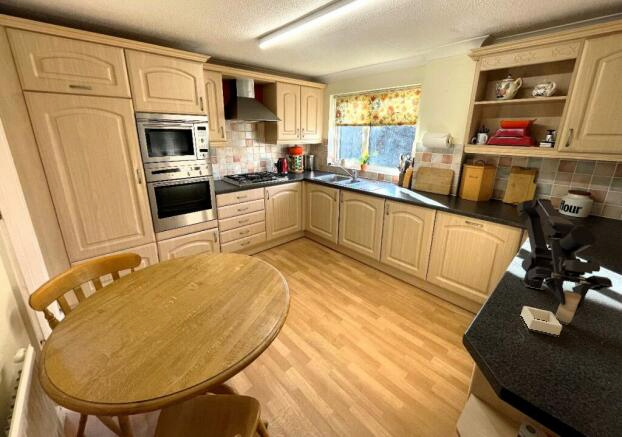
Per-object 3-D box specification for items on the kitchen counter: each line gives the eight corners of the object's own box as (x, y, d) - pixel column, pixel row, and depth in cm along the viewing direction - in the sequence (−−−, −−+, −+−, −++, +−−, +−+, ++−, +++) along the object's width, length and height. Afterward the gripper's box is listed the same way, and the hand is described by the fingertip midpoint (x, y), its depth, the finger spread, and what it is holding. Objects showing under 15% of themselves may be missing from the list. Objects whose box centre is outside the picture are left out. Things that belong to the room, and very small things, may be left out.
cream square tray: (520, 316, 84) (523, 305, 83) (547, 322, 82) (551, 311, 80) (528, 330, 78) (532, 319, 77) (557, 338, 76) (562, 326, 74)
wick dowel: (552, 316, 85) (562, 289, 81) (566, 319, 83) (577, 292, 80) (557, 323, 81) (568, 295, 78) (572, 326, 80) (583, 298, 77)
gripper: (542, 243, 81) (549, 293, 75) (621, 253, 76) (635, 309, 69) (525, 255, 91) (529, 301, 84) (593, 265, 85) (603, 315, 79)
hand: (571, 306), depth 79 cm, fingers closed on wick dowel, 4 cm apart
